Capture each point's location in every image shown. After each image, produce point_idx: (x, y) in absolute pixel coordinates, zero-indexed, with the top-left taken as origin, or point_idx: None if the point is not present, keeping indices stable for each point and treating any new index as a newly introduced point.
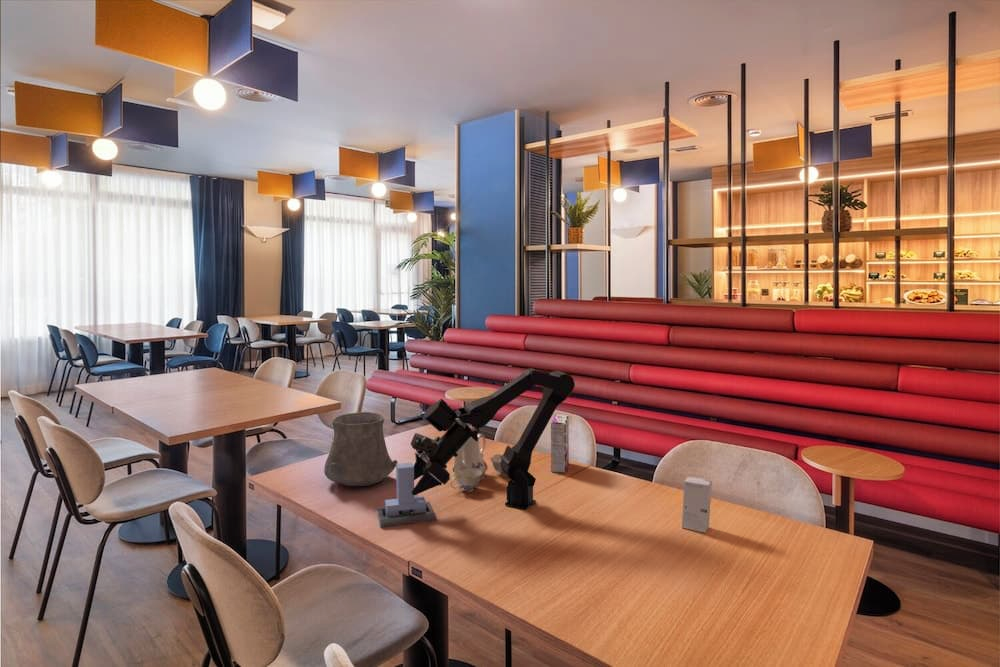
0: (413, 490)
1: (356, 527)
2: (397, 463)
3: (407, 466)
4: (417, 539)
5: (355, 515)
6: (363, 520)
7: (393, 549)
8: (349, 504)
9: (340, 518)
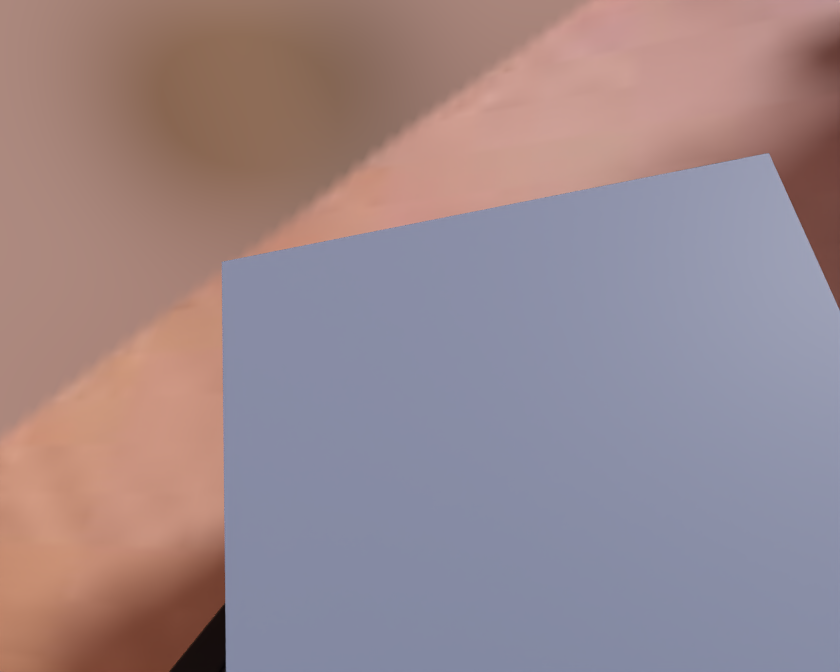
0: (217, 613)
1: (387, 187)
2: (786, 197)
3: (339, 612)
4: (133, 557)
5: (568, 154)
6: (483, 208)
7: (61, 408)
8: (763, 90)
9: (528, 87)
